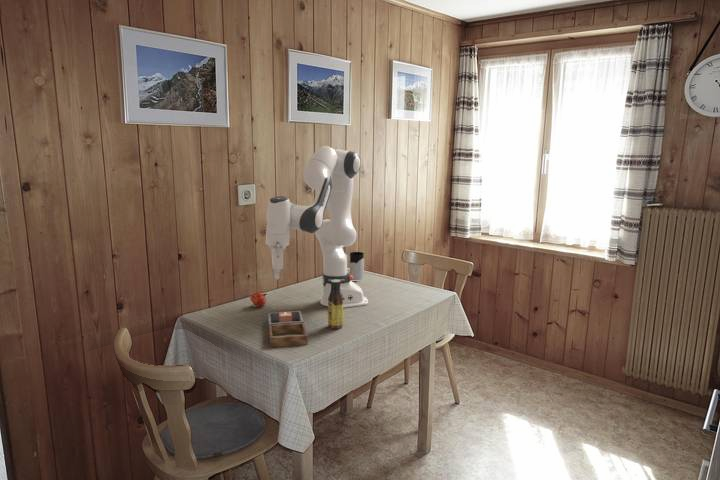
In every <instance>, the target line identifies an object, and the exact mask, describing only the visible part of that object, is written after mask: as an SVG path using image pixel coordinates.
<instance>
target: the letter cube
mask: <svg viewBox="0 0 720 480" xmlns="http://www.w3.org/2000/svg"><path fill="white" fill-rule="evenodd" d="M281 322H293V320H292V314H291V311H279V321H278V323H281Z"/></svg>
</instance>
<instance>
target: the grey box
mask: <svg viewBox="0 0 720 480" xmlns="http://www.w3.org/2000/svg"><path fill="white" fill-rule="evenodd" d="M279 312H280V311H279ZM279 312H268V313H267V316H268V320H267V321H268V326H269V325H280V324H295V323H304V324H305V322H304V319H303V315H302V312H301V310H295V311H294V310H292V311H290V312H291V314H292V322H281V323H279ZM297 320H298V321H297ZM268 332H269V333H270V330H268Z"/></svg>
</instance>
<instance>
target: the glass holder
mask: <svg viewBox="0 0 720 480" xmlns="http://www.w3.org/2000/svg"><path fill="white" fill-rule="evenodd" d="M345 254H346V256H347V263H349V269H347V273H349V274H351V275H352V276H353V280H363V279H365V258H364V257H365V255H364V252H362V251H361V252H360V251H352V252H349V255H348V254H347V253H345Z"/></svg>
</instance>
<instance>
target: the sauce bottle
mask: <svg viewBox="0 0 720 480" xmlns="http://www.w3.org/2000/svg"><path fill="white" fill-rule="evenodd" d="M340 284H341V281H340V280H338V279H334V280H331V292H330V295H329V298H328V306H327V324H328V327H329V328H330V329H332V330H333V329H334V330H336V329H337V330H338V329H341V328H343V326H344V308H343V295H342V294H341V292H340Z"/></svg>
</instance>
